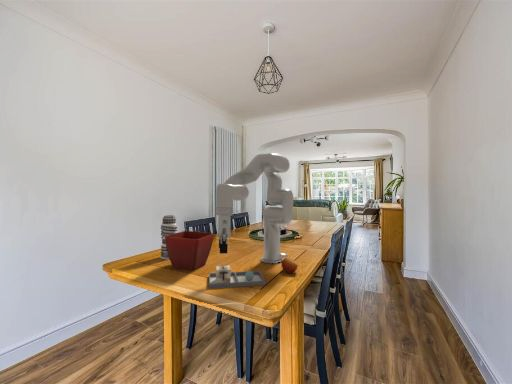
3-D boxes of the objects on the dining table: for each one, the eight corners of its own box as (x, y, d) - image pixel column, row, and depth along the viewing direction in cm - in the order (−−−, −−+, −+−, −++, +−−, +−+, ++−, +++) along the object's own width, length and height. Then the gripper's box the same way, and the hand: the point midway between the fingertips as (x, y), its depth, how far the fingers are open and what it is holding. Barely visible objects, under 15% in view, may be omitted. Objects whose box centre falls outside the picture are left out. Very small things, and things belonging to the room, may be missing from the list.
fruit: (276, 266, 121) (284, 253, 121) (289, 274, 121) (297, 261, 122) (279, 272, 113) (288, 258, 113) (292, 280, 113) (301, 266, 114)
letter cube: (229, 278, 106) (229, 265, 106) (230, 283, 100) (230, 269, 100) (215, 279, 105) (216, 265, 105) (216, 284, 99) (216, 270, 99)
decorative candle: (156, 257, 137) (157, 215, 137) (170, 254, 145) (171, 214, 145) (165, 260, 132) (166, 216, 132) (179, 257, 139) (180, 215, 139)
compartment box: (259, 274, 112) (259, 270, 112) (265, 285, 100) (265, 281, 100) (209, 277, 108) (209, 273, 108) (208, 289, 95) (208, 284, 95)
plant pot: (214, 262, 130) (214, 232, 130) (196, 274, 112) (197, 239, 112) (184, 259, 135) (185, 230, 135) (163, 269, 117) (163, 236, 117)
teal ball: (252, 278, 107) (252, 269, 107) (254, 281, 103) (254, 272, 103) (244, 278, 106) (244, 269, 106) (245, 281, 102) (245, 272, 102)
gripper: (234, 213, 94) (233, 255, 94) (230, 210, 111) (229, 246, 111) (216, 213, 93) (214, 255, 93) (215, 210, 110) (213, 246, 110)
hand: (222, 250), depth 102 cm, fingers open, 9 cm apart
